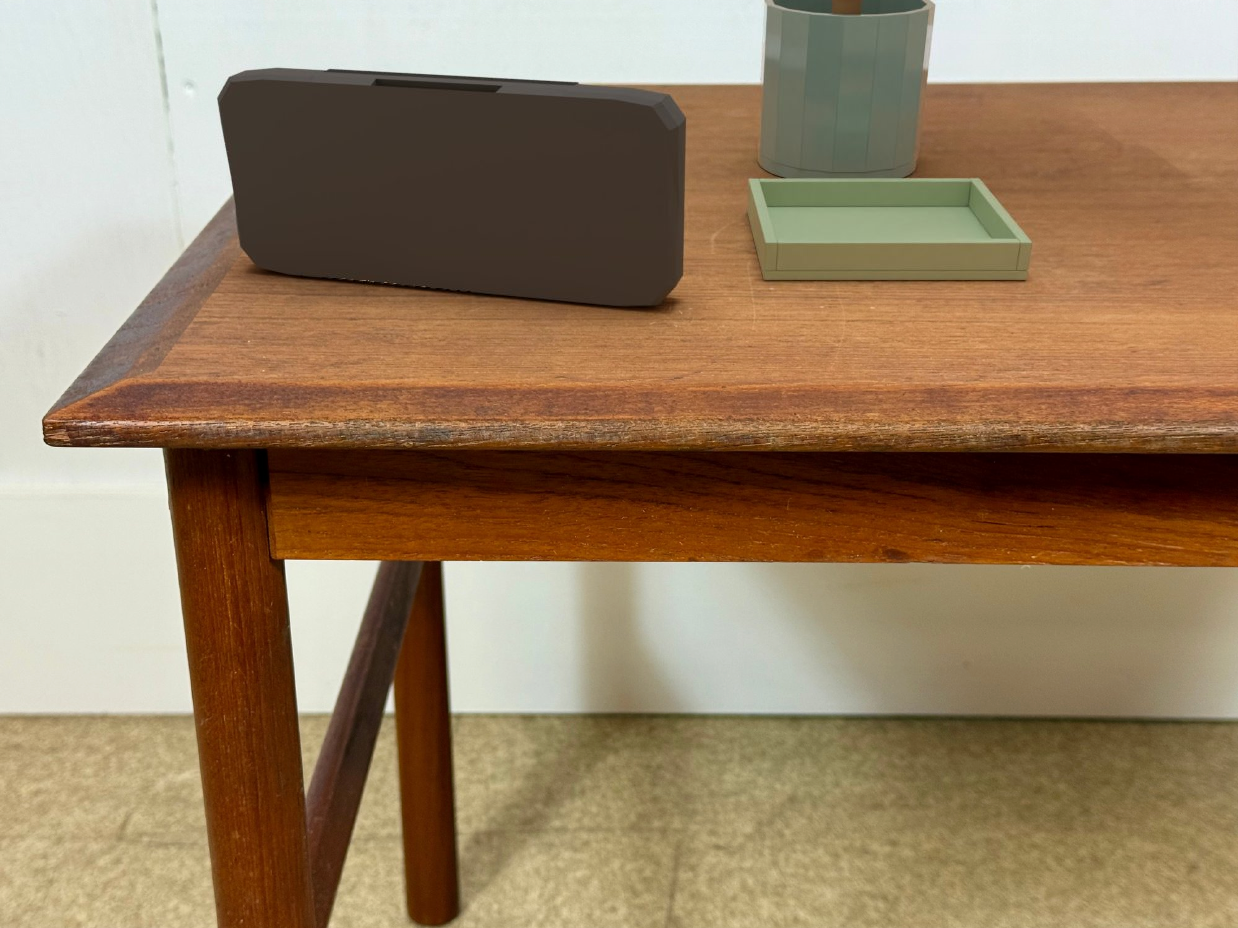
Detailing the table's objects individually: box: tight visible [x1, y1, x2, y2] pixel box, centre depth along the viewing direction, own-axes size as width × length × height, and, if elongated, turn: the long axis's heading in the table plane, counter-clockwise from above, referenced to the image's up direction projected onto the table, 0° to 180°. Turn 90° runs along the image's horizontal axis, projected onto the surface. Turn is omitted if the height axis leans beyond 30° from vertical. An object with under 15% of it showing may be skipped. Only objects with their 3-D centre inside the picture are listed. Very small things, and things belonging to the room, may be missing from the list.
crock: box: [757, 0, 936, 179], centre depth 80 cm, size 10×10×10 cm
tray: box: [746, 177, 1033, 281], centre depth 68 cm, size 13×11×2 cm
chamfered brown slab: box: [216, 67, 687, 307], centre depth 61 cm, size 23×3×10 cm, turn 75°
